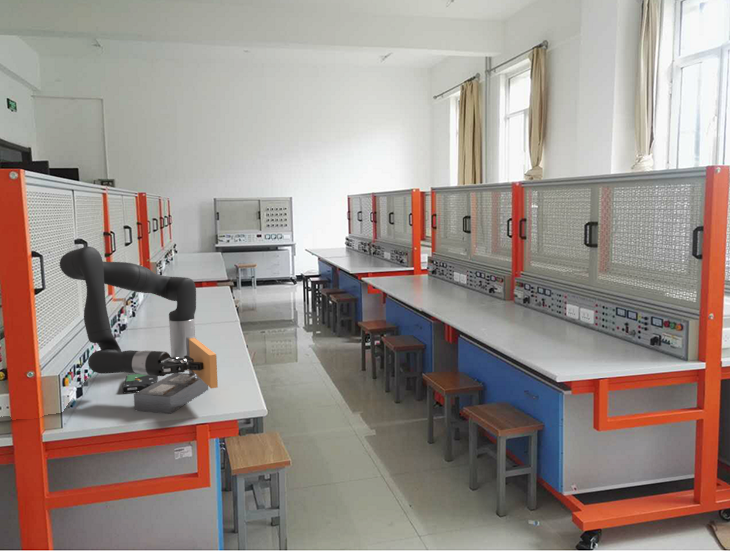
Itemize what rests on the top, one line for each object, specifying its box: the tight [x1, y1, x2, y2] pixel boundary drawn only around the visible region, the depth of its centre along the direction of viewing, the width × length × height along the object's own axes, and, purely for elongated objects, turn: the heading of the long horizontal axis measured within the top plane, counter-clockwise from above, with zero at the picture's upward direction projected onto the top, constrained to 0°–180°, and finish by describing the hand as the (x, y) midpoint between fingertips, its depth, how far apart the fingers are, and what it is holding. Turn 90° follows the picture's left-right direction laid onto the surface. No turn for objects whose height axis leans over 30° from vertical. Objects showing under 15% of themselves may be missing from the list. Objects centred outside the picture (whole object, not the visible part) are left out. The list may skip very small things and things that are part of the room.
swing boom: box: [186, 336, 218, 389], centre depth 180 cm, size 27×3×10 cm, turn 31°
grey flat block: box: [133, 372, 209, 415], centre depth 180 cm, size 22×12×5 cm, turn 166°
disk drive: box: [122, 373, 159, 394], centre depth 195 cm, size 10×3×15 cm
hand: (202, 366), depth 174 cm, fingers closed
